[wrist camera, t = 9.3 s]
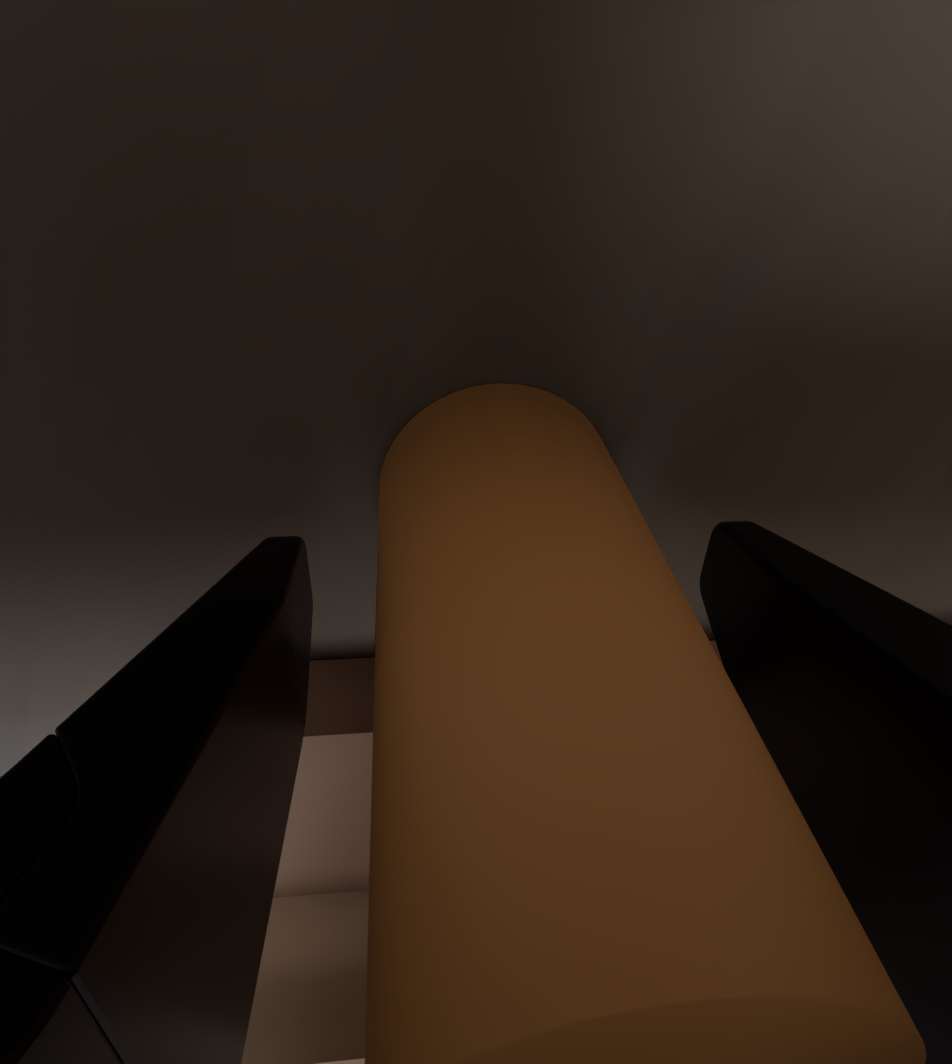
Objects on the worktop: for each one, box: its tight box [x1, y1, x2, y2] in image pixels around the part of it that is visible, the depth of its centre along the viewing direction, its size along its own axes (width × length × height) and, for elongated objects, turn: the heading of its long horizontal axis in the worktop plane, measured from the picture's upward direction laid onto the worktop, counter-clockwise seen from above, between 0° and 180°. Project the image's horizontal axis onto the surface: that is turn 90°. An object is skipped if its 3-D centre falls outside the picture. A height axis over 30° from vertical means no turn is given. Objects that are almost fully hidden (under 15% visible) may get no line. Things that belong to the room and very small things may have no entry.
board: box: [241, 641, 723, 1064], centre depth 14 cm, size 20×14×4 cm
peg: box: [365, 383, 927, 1064], centre depth 7 cm, size 3×3×7 cm
